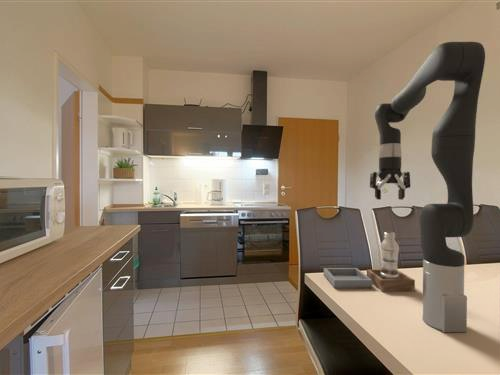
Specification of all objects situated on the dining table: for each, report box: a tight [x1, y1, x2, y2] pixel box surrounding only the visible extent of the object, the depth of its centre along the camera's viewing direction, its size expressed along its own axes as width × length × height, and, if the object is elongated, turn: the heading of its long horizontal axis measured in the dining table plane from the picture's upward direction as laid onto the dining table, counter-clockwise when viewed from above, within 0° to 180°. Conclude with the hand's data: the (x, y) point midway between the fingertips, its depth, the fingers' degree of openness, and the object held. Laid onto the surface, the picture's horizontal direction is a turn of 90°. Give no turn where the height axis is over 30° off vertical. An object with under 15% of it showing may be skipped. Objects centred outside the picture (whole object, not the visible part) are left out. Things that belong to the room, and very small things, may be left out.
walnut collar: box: [366, 268, 416, 292], centre depth 102 cm, size 12×12×4 cm
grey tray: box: [323, 267, 373, 289], centre depth 106 cm, size 14×14×3 cm
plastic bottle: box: [380, 231, 400, 279], centre depth 102 cm, size 6×7×20 cm
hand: (389, 199), depth 101 cm, fingers open, 8 cm apart
